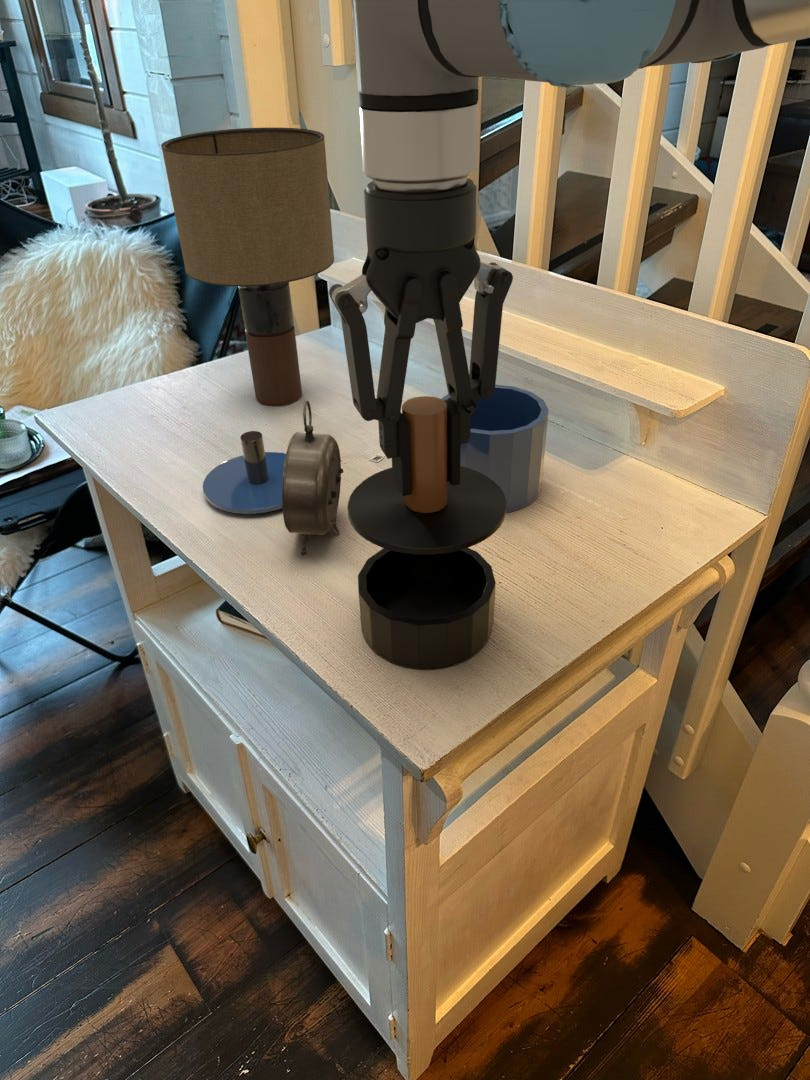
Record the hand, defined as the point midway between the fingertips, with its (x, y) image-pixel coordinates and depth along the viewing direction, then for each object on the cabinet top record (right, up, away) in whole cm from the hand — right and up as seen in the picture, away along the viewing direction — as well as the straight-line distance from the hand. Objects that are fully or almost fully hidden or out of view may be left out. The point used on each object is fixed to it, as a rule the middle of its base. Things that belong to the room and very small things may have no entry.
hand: (426, 481), depth 64 cm
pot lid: (-20, +2, +30) cm, 36 cm away
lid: (0, -2, +2) cm, 3 cm away
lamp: (-21, +17, +52) cm, 58 cm away
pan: (0, -13, +10) cm, 16 cm away
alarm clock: (-11, -4, +22) cm, 26 cm away
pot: (+9, +2, +29) cm, 31 cm away
